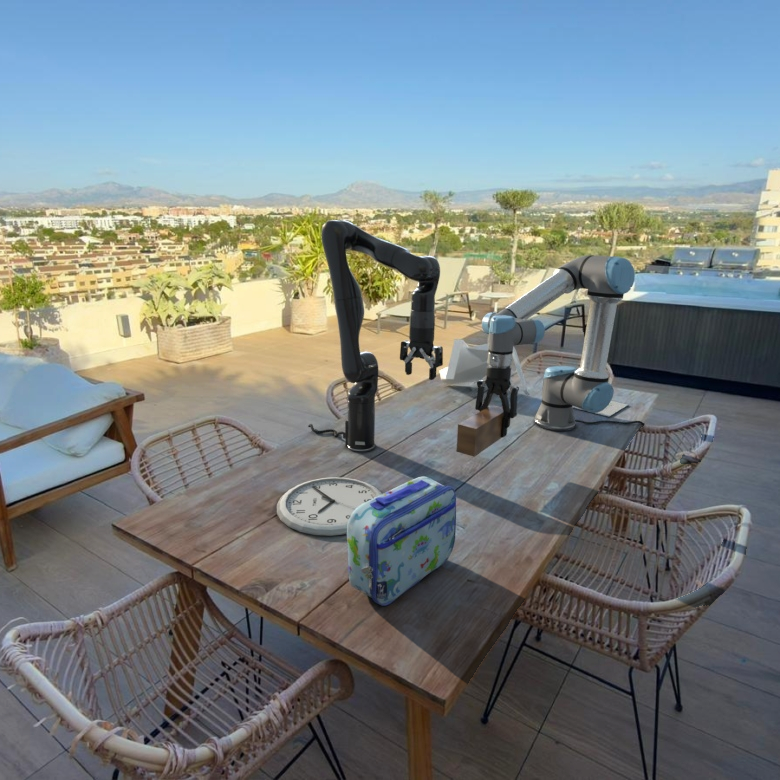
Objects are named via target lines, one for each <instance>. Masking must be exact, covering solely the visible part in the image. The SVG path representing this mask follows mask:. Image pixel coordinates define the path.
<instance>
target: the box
mask: <svg viewBox="0 0 780 780" xmlns="http://www.w3.org/2000/svg"><path fill="white" fill-rule="evenodd" d="M502 418H504V412H503V408H502V406H499V405H494V404H491V405H489V406H488V407H487V408H486V409H484V410H482V411H479V412H477V413H475V414H473V415H472V416H470V417H468V418H467V419H465V420H463V421H461V422H459V423H458V424H457V433H456V434H457V435H456V452H457V453H460V454H464V455H467V456H471V457H476V456H478V455H479V454H480V453H482V452H484V451H485V450H486V449H488V448H489V447H491V446H492V445H494V444H495V443H497V442H498V441H499V440H501V439H502V438H501V427H502Z"/></svg>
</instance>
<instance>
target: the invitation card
mask: <svg viewBox="0 0 780 780" xmlns="http://www.w3.org/2000/svg"><path fill="white" fill-rule="evenodd" d="M628 406H629V404H627V403H623V402H618V401H614V400H611V402H610V403H609V405H608V406H607V407H606V408H605V409H604V410H602V411H600V412H597V413H595V414H596V415H600V416H604V417H608V418H609V417H611V416H613V415H614V414H616V413H617V412H619V411H621V410H623V409H624V408H626V407H628ZM573 409H575V410H581V411H584V410H583V409H581V408H578V407H575V406H573ZM587 413H590V412H589V411H587ZM591 413H593V412H591ZM593 414H594V413H593Z"/></svg>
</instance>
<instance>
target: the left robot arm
mask: <svg viewBox="0 0 780 780" xmlns="http://www.w3.org/2000/svg"><path fill="white" fill-rule="evenodd" d="M320 233H321V234H320V237H321V239H320V240H321V244H322V248H323V252H324V256H325V260H326V264H327V267H328V272H329V277H330V284H331V288H332V295H333V303H334V309H335V314H336V319H337V320H336V321H337V326H338V327H337V328H338V334H339V344H340V360H341V368H342V373H343V376H344V378H345V379H346V380H347V381H348V382H349V383H351V384H353V385H352V387H351V388H350V389H349V390H348V391H347V419H346V420H345V421H344V429H345V430H344V431H337V430H336V429H333V428H331V429H329V428H328V429H323V430H317V429H315V428H314V425H313V424H312V423H309V424H308V425H307V427H308V428H310V430H311V431H312V432H313V433H315V434H325V433H333V435H334V437H339V436H340V435H342V439H344V442H345V444H344V445H345V447H346V448H347V449H348V450H350V451H352V452H356V453H363V452H364V453H365V452H369V451H372V450H374V449H375V447H376V446H375V445H376V444H375V443H376V442H375V438H376V437H375V436H376V435H375V433H376V432H375V430H376V427H375V426H376V394H377V392H378V387H379V386H378V385H379V363H378V360H377V357H376V356H375V355H374V353H372V352H370V351H361V350H360V349H361V348H360V335H361V329H362V325H363V322H364V317H365V304H364V298H363V293H362V288H361V286H360V285H359V282H358V281H357V279H356V278H355V276H354V274H353V272H352V271H351V268H350V265H349V262H348V259H347V251H351V252H357V253H361V254H364V255H366V256H368V257H370V259H372V260H374V261H375V262H376V263H378V264H380V265H381V266H383V267H386V268H389V269H391V270H393V271H396V272H398V273H399V274H401V275H403V276H404V277H405V278H407V279H409V280H411V281H414V282H417V286H416V288H415V289H414V290H413V291H412V293H411V297H410V314H409V332H408V335H409V336H408V339H409V341H408V340H403V341H401V342H400V348H399V351H400V352H399V360H400V361H403V362H404V372H405V375H407V376H410V375H412V373H413V362H412V361H414V359H415V358H416V359H421V360H424V361H425V362H426V363H427V364H428V366H429V369H428V371H429V372H428V373H429V374H428V380H430V381H433V380H435V378H437V368H440V367H443V365H444V348H443V346H442V345H441V346H435V344H434V341H435V329H436V327H435V326H436V323H435V322H436V315H435V314H436V313H435V305H436V293H437V290H438V286H439V282H440V278H441V266H440V263H439V261H438V259H437V258H435V257H434V256H431V255H425V256H419V255H416V254H413V253H411V250H408V248H405V247H403V246H400V245H397V244H395V243H392V242H389V241H387V240H384V239H381V238H378V237H376V236H374V235H373V234H371V233H368V232H367V231H365V230H363V229H362V228H360V227H359V226H357V225H355V224H353V223H352V222H350V221H347V220H339V219H337V220H335V219H334V220H333V219H331V220H327V221H326V222H325V223H324V224H323V225H322V228H321V232H320ZM409 350H410V351H409ZM408 352H409V353H408Z"/></svg>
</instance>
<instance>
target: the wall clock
mask: <svg viewBox="0 0 780 780" xmlns="http://www.w3.org/2000/svg"><path fill="white" fill-rule="evenodd" d="M381 494H384V492H382V491H381V490H380V489H379V488H377V487H376V486H374V485H372V484H371V483H369V482H365V481H362V480H359V479H355V478H349V477H338V476H337V477H335V476H333V477H332V476H331V477H322V478H317V479H312V480H307V481H305V482H302V483H299V484H297V485H295V486H293V487H292V488H290V489H288V490H287V491H286V492H285V493H284V494H283V495H281V496H280V498H279V499H278V502H277V503H276V515H277V517H278V518H279V520H280V521H281V522H282V523H283V524H285V525H286V526H287V527H288V528H290V529H293V530H295V531H297V532H299V533H303V534H308V535H312V536H327V537H328V536H329V537H331V536H332V537H333V536H342V535H347V525H348V521H349V518H350V516H351V514H352V513H353V511H354V510H355V509H356V508H357V507H358V506H360V505H362V504H363V503H365V502H368V501H370V500H372V499H374V498H376V497H378V496H380V495H381Z"/></svg>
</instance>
